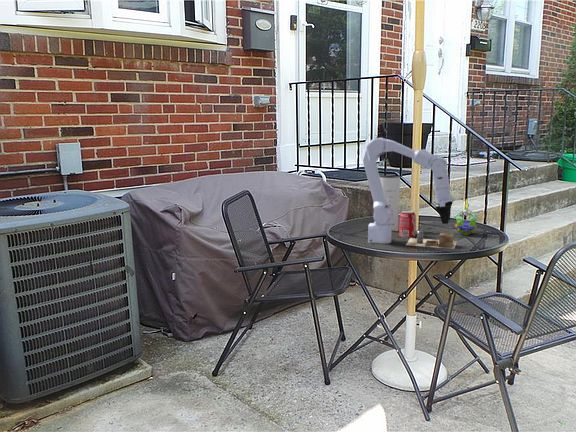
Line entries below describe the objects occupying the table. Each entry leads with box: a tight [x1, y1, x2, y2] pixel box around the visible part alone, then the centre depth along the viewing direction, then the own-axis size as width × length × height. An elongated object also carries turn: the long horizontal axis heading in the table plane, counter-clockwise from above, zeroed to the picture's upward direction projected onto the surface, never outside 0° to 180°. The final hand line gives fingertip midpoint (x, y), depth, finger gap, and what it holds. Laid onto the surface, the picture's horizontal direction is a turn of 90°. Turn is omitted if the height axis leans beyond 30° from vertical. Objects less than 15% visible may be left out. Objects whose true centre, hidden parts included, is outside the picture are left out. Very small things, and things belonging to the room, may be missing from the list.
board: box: [405, 237, 458, 250], centre depth 212 cm, size 19×14×4 cm
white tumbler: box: [379, 175, 401, 232], centre depth 239 cm, size 11×10×26 cm
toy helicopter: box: [454, 198, 478, 236], centre depth 229 cm, size 25×9×15 cm, turn 162°
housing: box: [438, 232, 454, 249], centre depth 207 cm, size 5×5×5 cm
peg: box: [416, 229, 424, 244], centre depth 213 cm, size 2×2×5 cm
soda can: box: [398, 209, 417, 238], centre depth 226 cm, size 7×7×12 cm
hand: (446, 221), depth 206 cm, fingers open, 7 cm apart
